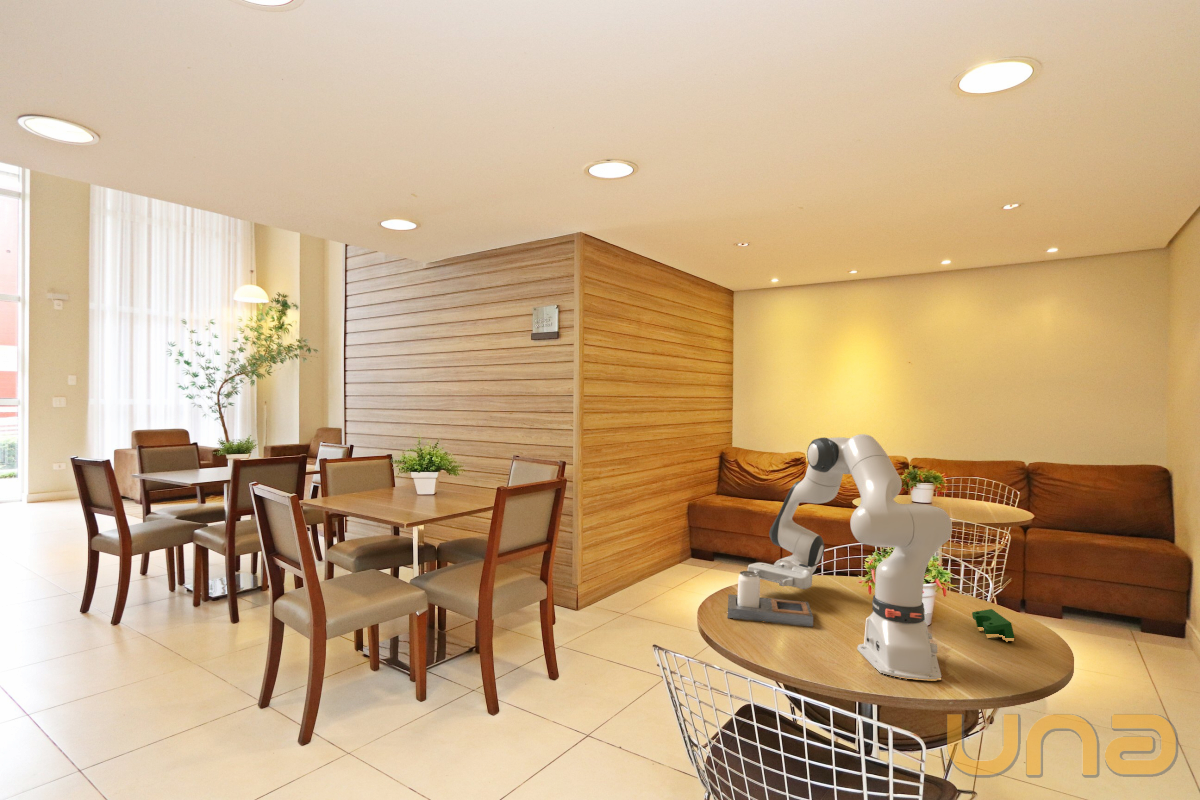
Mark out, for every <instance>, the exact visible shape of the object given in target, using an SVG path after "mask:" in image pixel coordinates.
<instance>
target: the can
mask: <svg viewBox="0 0 1200 800" xmlns="http://www.w3.org/2000/svg"><path fill="white" fill-rule="evenodd" d="M758 575H759V574H758V573H756V572H752V571H748V570H743V571H740V572H739V575H738V578H737V595H738V600H737V606H744V607H754V608H759V599H760V597H761V596H760V595H761V591H760V590H761V579H760V578H759V576H758Z"/></svg>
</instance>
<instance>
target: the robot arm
mask: <svg viewBox="0 0 1200 800" xmlns="http://www.w3.org/2000/svg"><path fill="white" fill-rule="evenodd" d="M806 452H807V453H806V455H807V456H806V458H807V462H808V464H807V469H806V472H805V476H804V478H803V479H802V480H798V481H796V482H795V483H794V484H792V486H791V488H790V489H789V491H788V492H787V495H786V497H785V499H784V501H783V503H782V506H781V507H780V510H779V512H778V514H777V516H776V518H775V520H774V521H773V523H772V525H771V526H770V529H769V533H768V535H769V538H770V541H771V543H772V544H773V545H775V546H778V547H779V548H782V549H784V550H786V551H788V552H790V553H792V554H790V555H789V556H786V557H782V558H780V559H778V560H776V561H775V562H774V563H773V564H771V563H766V562H754V563H749V564H748V566H747V571H752V572H756V573H758V574H759V575H758V576H759V578H760V580H762V581H763V580H764V581H767V582H772V583H776V584H778V585H779V586H780V587H792V588H796V589H800V590H807V589H809V588H811V587H812V585H813V573H815V571H816V569H817V567H818V565H819V563H820V562H821V561H822V558H823V557H824V553H825V542H824V539H823V537H822V536H821V535H819V533H818V534H817V533H816V532H814V531H813V530H810V529H808V528H806V527H804V526H802V525H800V524H798V523H796V522H795V521H794V520H793V517H794V515H795V512H796V511H797V508H798V506H799V505H800V503H808V504H815V505H816V504H824V503H828V502H830V501H832V500H834V499H835V498H836V497H837V495H838V493H839V490H840V487H841V484H842V480H843V476H844V475H851V476H852V478H853V481H854V483H855V485H856V488H857V490H858V492H859V496H860V504H859V506H857V507H856V508H855V509H854V511H853V512H852V513H851V517H850V521H849V522H850V523H849V524H850V526H849V527H850V530H851V533H852V535H853V536H854V538H855V540H857V542H858V543H860V544H862V545H863V544H864V545H867V546H872V547H876V548H894V549H893V551H892V553H891V554H890V555H889V556H888V557H886V558H885V559H883V560H882V561H881V562H879V564H878V565H877V566H876V569H875V583H874V585H875V587H874V594H873V597H872V612H871V614H870V615H869V616H868V617H866V619H865V629H864V638H863V639H864V640H863V643H859V644H858V645H857V646H856V647H857V648H856V649H857V651H858V653H860V654H861V655H862V656H863V657H864V659H866V661H868V662H869V664H871V666H872V667H873V668H874V669H875V668H876V669H877V670H878V671H879V672H880V674H881V673H883V674H882V675H884V674H887V675H892V676H899V677H905V678H918V679H937V678H941V677H942V673H941V667H940V666H939V661H938V657H937V654H938V643H933V642H931V641H930V640H933V633H931V632H929V631H928V626H929V625H928V623H927V622H926V621H925V613H926V612H925V610H926V609H925V607H924V606H925V605H924V603H923V592H924V579H925V574H926V570H927V567H928V565H929V563H930V561H931V559H932V557H933V556H934V554H935V553H936V552H937V550H938V549H940V547H942V545H944V544H946V543H947V542H948V541H949V540H950V538H951V536H952V533H953V524H952V523H953V522H952V519H951V517H950V515H949V514H948V513H947V511H946V510H945V509H943V508H941V507H937V506H934V505H929V504H925V503H922V504H921V503H898V502H896V501H895V500H894V499H896V497H897V496H898V495H900V492H901V491H902V486H903V484H902V478H901V477H900V475H899V473H898V472H897V469H896V468H895V466H894V464H893V462H892V461H891V458H890V457H889V456H888V454H887V452H886V451H885V449H884V448H883V446H882V445H881V444H880V443H879V442H878V441H877V440H876V439H875V438H874V437H873V436H871V435H870V434H866V433H861V434H857V435H854V436H852V437H840V436H839V437H818V438H815V439H813V440H812V441H811V442H810V443H809V445H808V447H807V450H806ZM876 669H875V670H876ZM877 670H876V671H877ZM878 671H877V672H878ZM879 672H878V673H879ZM887 675H886V676H887ZM928 676H929V677H928Z"/></svg>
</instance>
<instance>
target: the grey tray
mask: <svg viewBox="0 0 1200 800" xmlns="http://www.w3.org/2000/svg"><path fill="white" fill-rule="evenodd" d="M727 596H728V598H727V619H730V618H733V620H740V619H743V620H742V621H749V620H753V621H752V622H759V621H764V622H763V623H768V622H772V623H771V624H778V623H780V625H787V624H788V625H787V626H789V625H790V626H799V627H807V628H808V627H809V628H813V627H814V615H813V612H812V609H811V607H810V603H809V601H802V600H790V599H781V598H780V599H779V598H771V597H770V598H769V597H761V596H760V599H759V608H754V607H744V606H737V600H738V594H728V595H727Z"/></svg>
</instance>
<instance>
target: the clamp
mask: <svg viewBox="0 0 1200 800" xmlns="http://www.w3.org/2000/svg"><path fill="white" fill-rule="evenodd" d="M971 614H972V615H971V616H972V618H973V620H974V621H975V624H976V628H977V627H983V628H984V631H983V632H984V633H985V634H999V635H1003V636H1005V638H1015V633H1014V629H1013V625H1012V622H1010V620H1008V619H1006V618H1005V617H1004V616H1002V615H1001V614H999V612H996V611H995V609H992V608H990V609H989V608H988V609H982V610H978V611H977V610H976V611H973V612H972V613H971ZM1015 639H1016V638H1015Z"/></svg>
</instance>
